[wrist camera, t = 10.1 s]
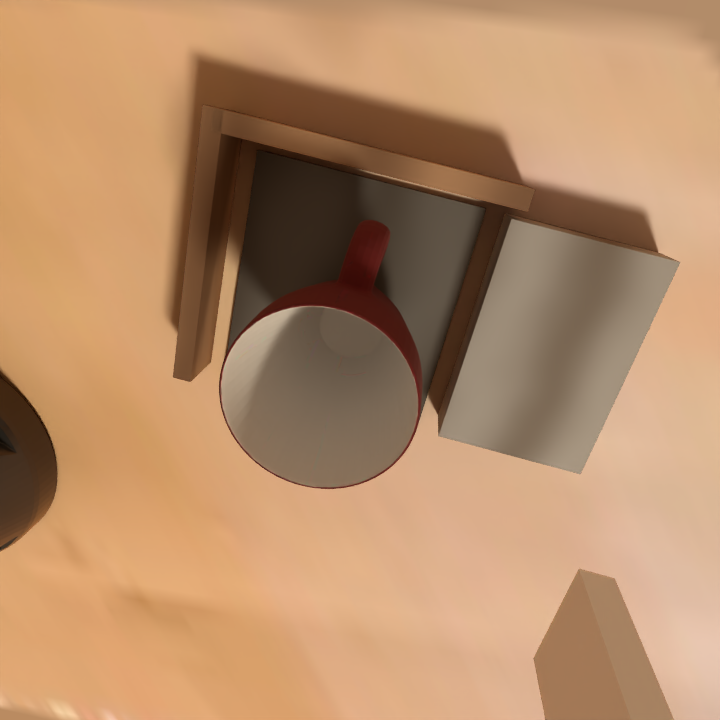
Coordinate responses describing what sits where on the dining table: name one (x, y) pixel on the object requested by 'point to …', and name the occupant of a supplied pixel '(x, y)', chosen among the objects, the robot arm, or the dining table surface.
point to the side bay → (429, 281)
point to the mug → (326, 377)
